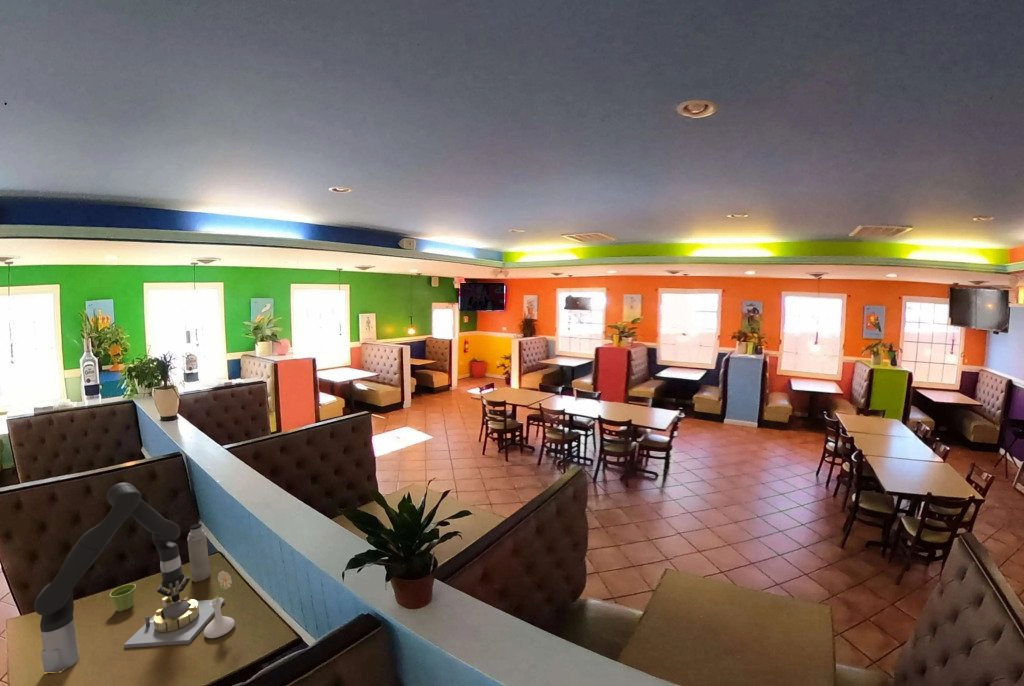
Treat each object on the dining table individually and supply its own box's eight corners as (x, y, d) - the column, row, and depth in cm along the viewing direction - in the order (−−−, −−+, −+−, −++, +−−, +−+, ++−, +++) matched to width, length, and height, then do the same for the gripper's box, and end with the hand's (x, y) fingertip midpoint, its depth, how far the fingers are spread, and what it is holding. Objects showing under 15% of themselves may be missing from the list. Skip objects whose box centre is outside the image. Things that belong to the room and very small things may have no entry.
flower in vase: (220, 642, 191) (214, 586, 188) (197, 639, 193) (191, 583, 191) (244, 621, 204) (239, 567, 201) (222, 618, 206) (217, 565, 203)
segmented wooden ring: (204, 615, 205) (203, 604, 204) (162, 637, 192) (161, 625, 192) (185, 598, 217) (183, 587, 217) (144, 617, 205) (143, 606, 204)
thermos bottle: (199, 572, 242) (194, 521, 239) (213, 572, 241) (208, 521, 238) (187, 581, 234) (182, 529, 231) (202, 582, 233) (196, 529, 230)
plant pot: (123, 615, 210) (121, 597, 209) (106, 613, 212) (104, 595, 211) (143, 601, 219) (141, 584, 218) (126, 600, 221) (124, 583, 220)
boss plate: (189, 643, 191) (187, 626, 190) (123, 648, 190) (121, 631, 189) (224, 602, 217) (223, 587, 216) (166, 605, 215) (165, 590, 215)
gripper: (187, 557, 218) (191, 591, 220) (152, 569, 209) (157, 604, 211) (189, 563, 212) (194, 598, 214) (153, 576, 203) (159, 612, 205)
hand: (176, 601), depth 213 cm, fingers closed
